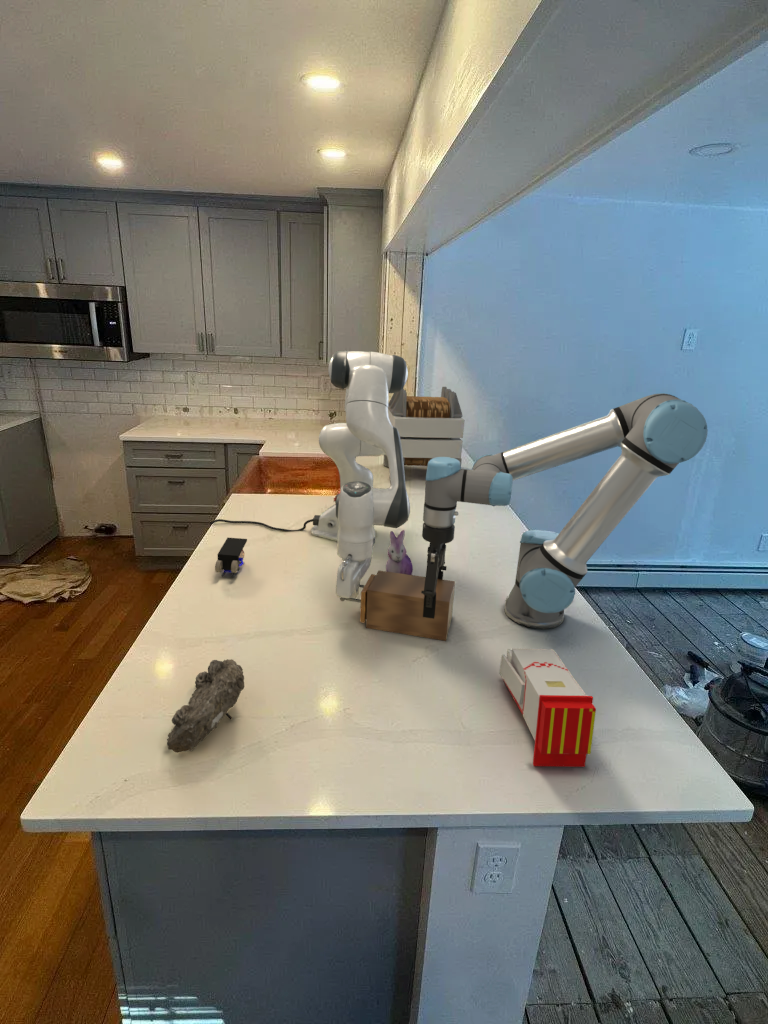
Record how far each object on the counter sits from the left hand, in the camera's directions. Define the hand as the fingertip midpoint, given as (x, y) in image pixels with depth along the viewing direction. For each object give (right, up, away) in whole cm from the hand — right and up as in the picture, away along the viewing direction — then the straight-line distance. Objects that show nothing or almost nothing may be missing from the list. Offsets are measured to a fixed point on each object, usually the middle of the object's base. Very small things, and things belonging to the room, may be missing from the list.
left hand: (353, 597), depth 145 cm
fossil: (-25, -17, -37) cm, 48 cm away
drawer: (+9, -5, -1) cm, 10 cm away
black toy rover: (-37, +5, +23) cm, 44 cm away
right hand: (+20, -1, -5) cm, 20 cm away
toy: (+38, -19, -33) cm, 53 cm away
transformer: (+25, +41, +130) cm, 138 cm away
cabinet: (+14, -6, -1) cm, 16 cm away
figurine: (+12, +2, +21) cm, 24 cm away
